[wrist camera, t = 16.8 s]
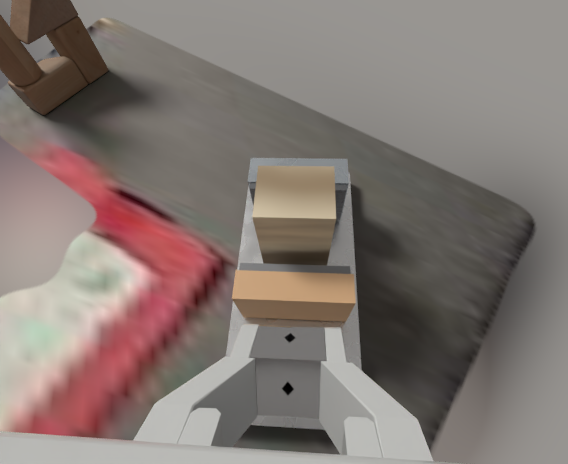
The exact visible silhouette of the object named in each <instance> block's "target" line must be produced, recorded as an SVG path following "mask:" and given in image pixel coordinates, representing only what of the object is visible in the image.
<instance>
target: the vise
mask: <svg viewBox="0 0 568 464" xmlns="http://www.w3.org/2000/svg"><path fill="white" fill-rule="evenodd" d="M258 166H334V172H335V200H336V222H335V227H334V233H333V238H332V243H331V248H330V253H329V258H328V264H327V266H350V270H351V274H354V283H355V301H356V304H355V306H354V307H353V309H352V311H351V313H350V315H349V317H348V319H347V321H346V322H344V321H320V320H297V319H273V318H250V317H243V316H242V314H241V313H240V311H239V309H238V308H237V306H236V304H235V303H234V301H233V307H232V314H231V322H230V329H229V337H228V344H227V352H226V357H230V355H231V352H232V350H233V347H234V344H235V341H236V339H237V336H238V333H239V331H240V328H241V326H242V325H243V324H258V325H275V326H291V327H340V328H341V329H342V333H343V339H344V344H345V350H346V356H347V362H348V363H353V364H355V365H356V366H357V367H358V368H359V369H360V370H361V371H362V369H361V352H360V335H359V319H358V302H357V285H356V269H355V252H354V235H353V219H352V202H351V185H350V173H348V161H347V159H303V158H251V161H250V169H249V176H248V185H249V186H248V193H247V201H246V208H245V216H244V224H243V231H242V239H241V246H240V254H239V261H238V269H237V270H239V267H240V263H263V259H262V255H261V251H260V247H259V243H258V239H257V235H256V231H255V226H254V222H253V218H252V215H253V206H254V197H255V189H256V180H257V171H258ZM251 425H259V426H274V427H290V428H306V429H322V430H325V429H324V428H323V426H322V424H321V423H320V421H319V419H312V418H301V417H290V416H261V415H257V418H256V419H255V420H254V422H253V423H252V424H251Z"/></svg>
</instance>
